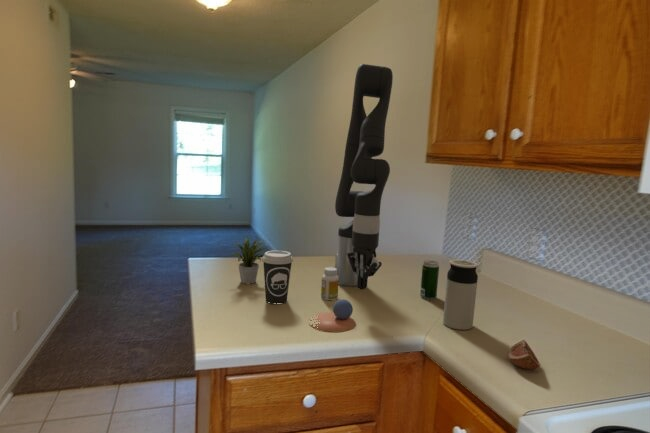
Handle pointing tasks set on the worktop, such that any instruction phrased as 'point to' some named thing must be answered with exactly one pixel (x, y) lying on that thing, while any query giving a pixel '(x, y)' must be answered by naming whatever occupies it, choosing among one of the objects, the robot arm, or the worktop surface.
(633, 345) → the worktop surface
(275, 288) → the coffee cup
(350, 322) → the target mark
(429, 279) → the beer can
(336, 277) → the supplement bottle
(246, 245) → the house plant
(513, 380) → the worktop surface
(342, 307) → the ball
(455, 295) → the travel mug
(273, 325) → the worktop surface
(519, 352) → the fruit slice
